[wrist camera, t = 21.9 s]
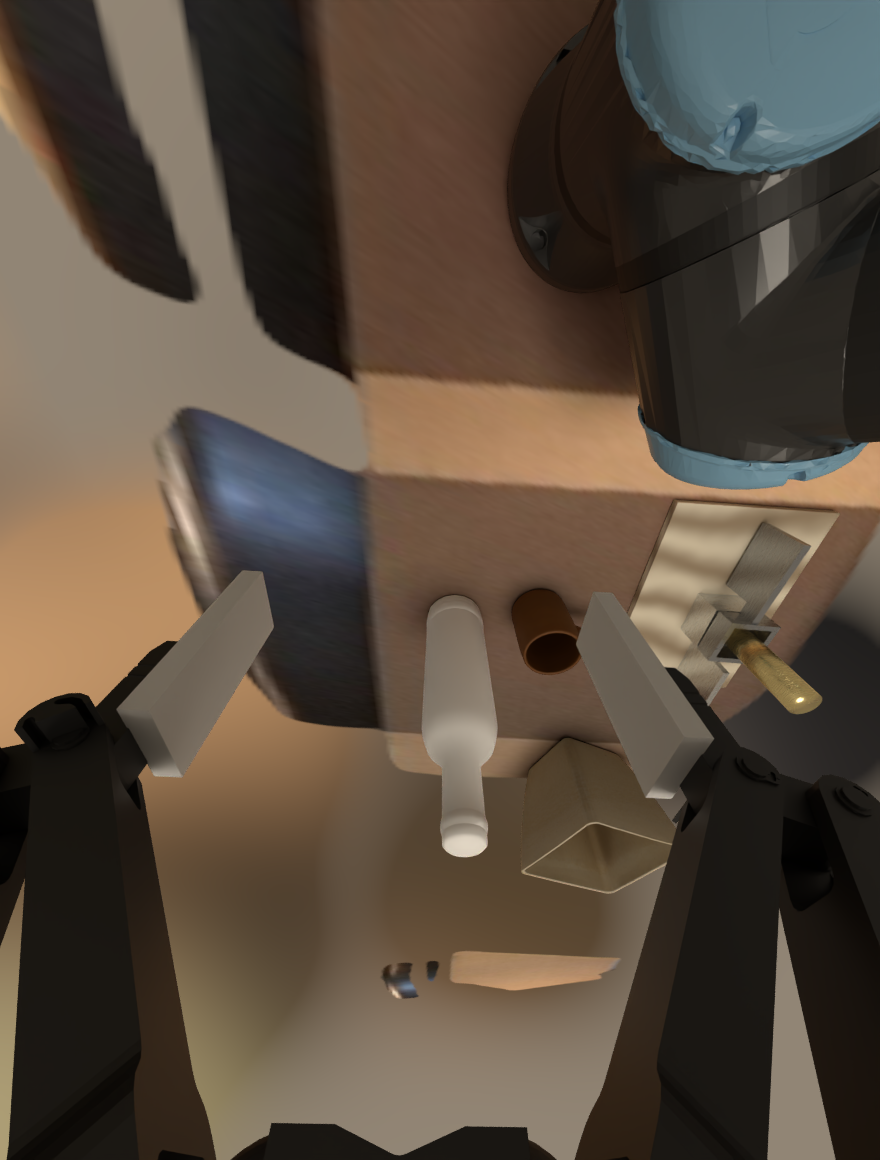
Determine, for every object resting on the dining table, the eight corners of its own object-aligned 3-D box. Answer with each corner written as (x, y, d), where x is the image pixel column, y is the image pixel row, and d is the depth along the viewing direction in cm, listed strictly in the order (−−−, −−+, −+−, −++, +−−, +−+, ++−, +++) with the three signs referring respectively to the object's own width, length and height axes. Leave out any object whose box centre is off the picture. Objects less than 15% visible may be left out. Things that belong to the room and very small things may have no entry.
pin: (705, 602, 52) (799, 692, 39) (728, 604, 52) (828, 694, 39) (695, 621, 54) (781, 713, 40) (717, 622, 54) (810, 714, 40)
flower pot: (580, 798, 80) (611, 896, 66) (504, 775, 76) (518, 874, 61) (642, 749, 71) (693, 850, 57) (560, 719, 67) (592, 821, 53)
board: (673, 499, 46) (677, 502, 45) (832, 510, 46) (840, 513, 45) (601, 676, 61) (603, 681, 60) (721, 683, 62) (725, 687, 61)
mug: (600, 593, 53) (629, 636, 45) (583, 634, 57) (607, 681, 49) (517, 584, 52) (530, 626, 44) (505, 627, 56) (516, 673, 48)
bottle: (450, 583, 52) (459, 809, 26) (492, 612, 55) (537, 843, 29) (416, 619, 55) (394, 851, 30) (457, 645, 58) (469, 879, 32)
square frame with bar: (741, 520, 46) (782, 544, 40) (790, 525, 46) (837, 549, 40) (681, 629, 54) (708, 660, 49) (722, 632, 55) (753, 664, 49)
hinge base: (729, 532, 47) (771, 558, 41) (778, 535, 47) (827, 562, 41) (653, 680, 60) (676, 717, 54) (691, 682, 60) (718, 719, 54)
